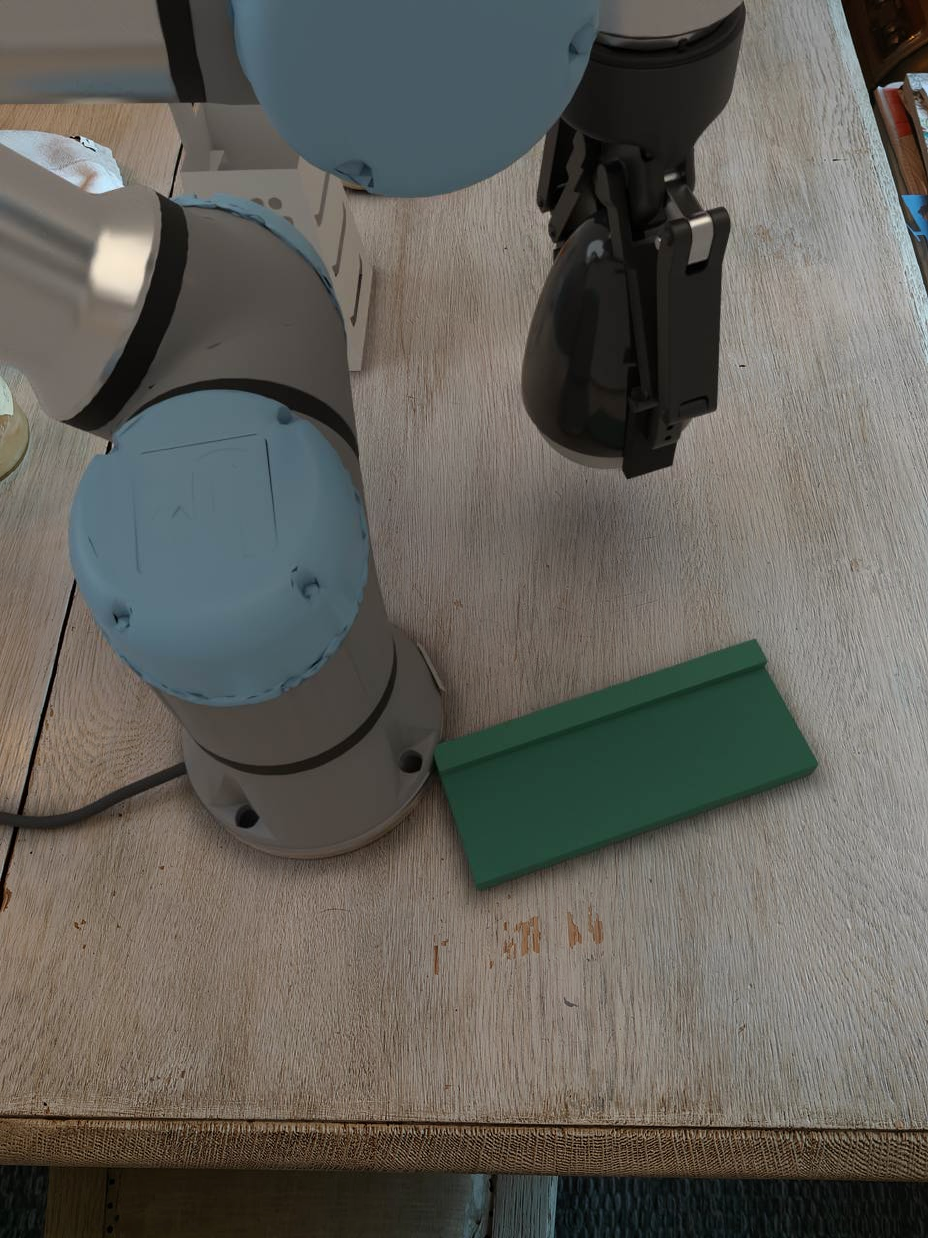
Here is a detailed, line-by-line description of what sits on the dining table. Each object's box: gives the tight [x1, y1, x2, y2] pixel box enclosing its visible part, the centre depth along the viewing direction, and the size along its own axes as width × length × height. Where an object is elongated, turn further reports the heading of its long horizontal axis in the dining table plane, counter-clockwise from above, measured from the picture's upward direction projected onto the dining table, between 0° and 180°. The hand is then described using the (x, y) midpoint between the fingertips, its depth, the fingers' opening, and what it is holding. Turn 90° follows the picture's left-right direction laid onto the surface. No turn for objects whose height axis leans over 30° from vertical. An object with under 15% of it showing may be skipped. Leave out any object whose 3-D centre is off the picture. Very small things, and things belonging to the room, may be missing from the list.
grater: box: [167, 103, 374, 372], centre depth 65 cm, size 10×10×20 cm
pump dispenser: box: [520, 199, 694, 471], centre depth 51 cm, size 10×10×15 cm
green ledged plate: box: [433, 638, 819, 892], centre depth 54 cm, size 20×8×2 cm, turn 108°
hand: (609, 398), depth 56 cm, fingers closed on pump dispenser, 10 cm apart
